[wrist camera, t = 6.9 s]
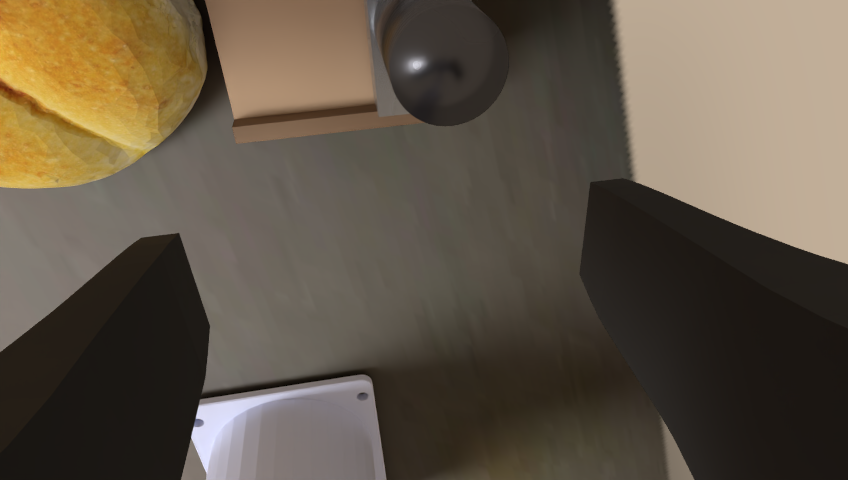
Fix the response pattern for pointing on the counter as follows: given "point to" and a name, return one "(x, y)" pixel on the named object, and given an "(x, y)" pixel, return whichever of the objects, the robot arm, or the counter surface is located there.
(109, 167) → the bread roll
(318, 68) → the press bed
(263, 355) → the counter surface
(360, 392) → the robot arm
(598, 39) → the counter surface
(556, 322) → the counter surface
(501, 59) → the jaw
